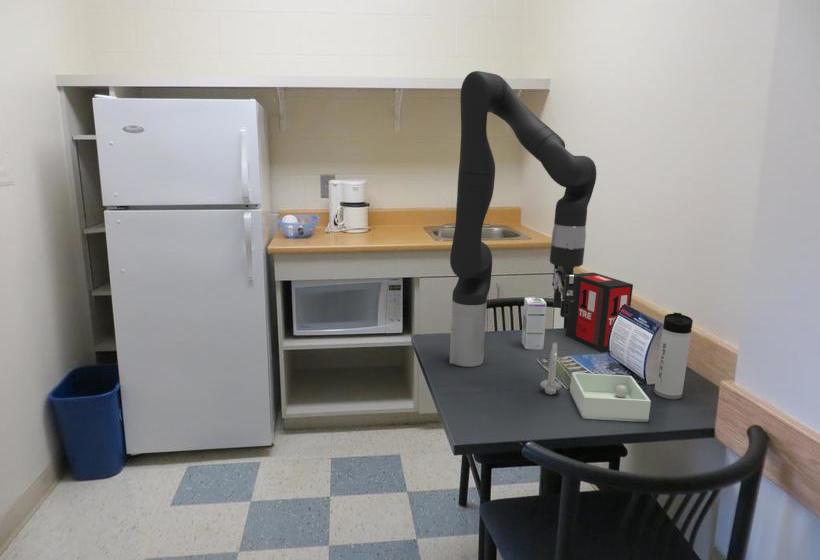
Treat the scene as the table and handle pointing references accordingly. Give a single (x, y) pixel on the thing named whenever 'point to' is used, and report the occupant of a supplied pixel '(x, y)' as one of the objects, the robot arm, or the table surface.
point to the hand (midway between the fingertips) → (561, 311)
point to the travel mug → (673, 356)
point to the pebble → (621, 391)
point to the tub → (609, 397)
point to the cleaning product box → (596, 309)
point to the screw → (552, 373)
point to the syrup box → (534, 323)
